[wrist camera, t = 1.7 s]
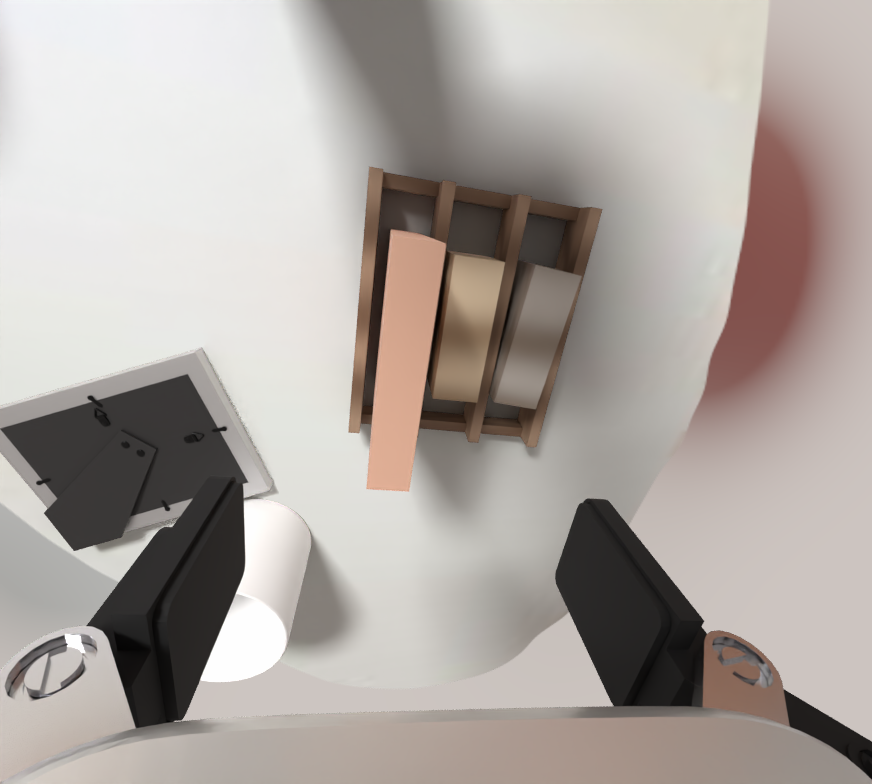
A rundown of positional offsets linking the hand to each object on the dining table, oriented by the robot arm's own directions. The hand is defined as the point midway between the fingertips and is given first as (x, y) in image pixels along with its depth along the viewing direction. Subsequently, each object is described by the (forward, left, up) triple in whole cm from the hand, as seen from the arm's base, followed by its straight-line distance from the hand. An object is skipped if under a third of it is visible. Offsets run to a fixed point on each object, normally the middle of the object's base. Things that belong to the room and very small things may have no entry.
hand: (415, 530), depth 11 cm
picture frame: (+17, -24, -30) cm, 42 cm away
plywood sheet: (0, 0, -29) cm, 29 cm away
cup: (+28, -13, -29) cm, 42 cm away
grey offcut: (0, +12, -29) cm, 31 cm away
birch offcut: (0, +6, -29) cm, 30 cm away
